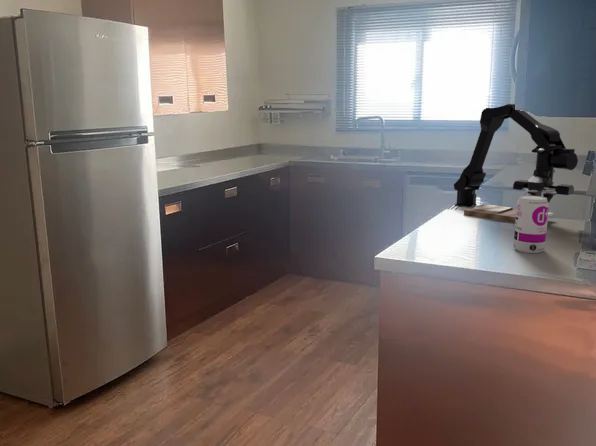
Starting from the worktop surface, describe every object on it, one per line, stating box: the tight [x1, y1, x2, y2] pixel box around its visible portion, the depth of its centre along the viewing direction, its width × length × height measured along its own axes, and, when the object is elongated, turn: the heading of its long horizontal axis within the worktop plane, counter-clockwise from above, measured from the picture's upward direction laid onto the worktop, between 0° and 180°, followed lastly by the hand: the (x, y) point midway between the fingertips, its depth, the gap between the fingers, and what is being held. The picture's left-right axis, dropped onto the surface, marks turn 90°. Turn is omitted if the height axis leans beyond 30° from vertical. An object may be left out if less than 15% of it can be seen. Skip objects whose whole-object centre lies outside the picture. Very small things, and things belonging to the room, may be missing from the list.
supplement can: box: [512, 195, 550, 254], centre depth 165 cm, size 8×8×15 cm
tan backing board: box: [463, 203, 517, 224], centre depth 213 cm, size 22×16×3 cm
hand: (540, 212), depth 204 cm, fingers closed
